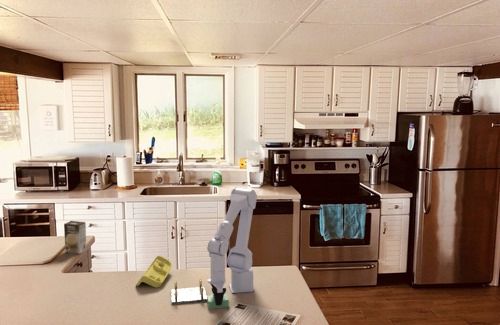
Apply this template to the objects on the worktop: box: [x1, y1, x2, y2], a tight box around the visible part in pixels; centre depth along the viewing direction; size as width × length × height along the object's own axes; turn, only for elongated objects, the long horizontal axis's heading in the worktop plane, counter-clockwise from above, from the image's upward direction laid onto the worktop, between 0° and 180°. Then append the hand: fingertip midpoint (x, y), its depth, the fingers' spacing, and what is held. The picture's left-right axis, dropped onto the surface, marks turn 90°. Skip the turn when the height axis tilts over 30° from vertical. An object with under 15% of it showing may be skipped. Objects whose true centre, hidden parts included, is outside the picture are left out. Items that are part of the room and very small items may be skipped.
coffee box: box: [63, 220, 87, 255], centre depth 203 cm, size 9×6×16 cm
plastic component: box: [135, 255, 173, 288], centre depth 172 cm, size 20×7×10 cm
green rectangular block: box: [206, 293, 230, 310], centre depth 149 cm, size 8×5×3 cm, turn 103°
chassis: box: [171, 279, 207, 305], centre depth 155 cm, size 14×11×5 cm
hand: (217, 301), depth 149 cm, fingers closed on green rectangular block, 5 cm apart
